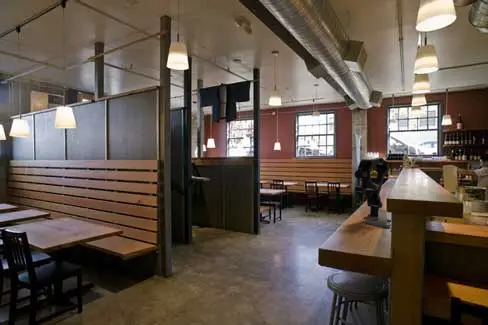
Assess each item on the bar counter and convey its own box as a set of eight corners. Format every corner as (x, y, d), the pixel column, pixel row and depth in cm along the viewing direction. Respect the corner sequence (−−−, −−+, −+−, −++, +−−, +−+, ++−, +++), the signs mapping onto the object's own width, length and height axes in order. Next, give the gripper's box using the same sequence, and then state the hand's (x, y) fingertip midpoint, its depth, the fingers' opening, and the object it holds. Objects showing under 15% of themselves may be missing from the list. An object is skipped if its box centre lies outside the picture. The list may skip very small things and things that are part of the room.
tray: (376, 220, 208) (376, 217, 208) (399, 224, 197) (400, 221, 197) (365, 223, 198) (365, 220, 198) (388, 228, 187) (388, 225, 187)
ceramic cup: (380, 221, 201) (380, 209, 201) (388, 223, 197) (388, 210, 197) (376, 222, 198) (377, 210, 197) (384, 224, 194) (384, 211, 194)
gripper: (370, 179, 199) (369, 204, 200) (384, 178, 212) (383, 201, 212) (354, 178, 208) (353, 201, 208) (368, 176, 220) (367, 198, 221)
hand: (365, 200), depth 212 cm, fingers open, 9 cm apart
